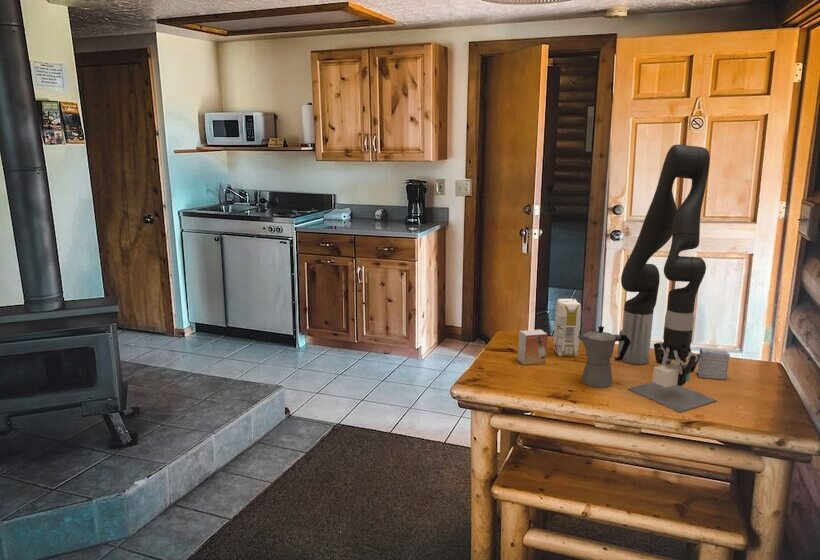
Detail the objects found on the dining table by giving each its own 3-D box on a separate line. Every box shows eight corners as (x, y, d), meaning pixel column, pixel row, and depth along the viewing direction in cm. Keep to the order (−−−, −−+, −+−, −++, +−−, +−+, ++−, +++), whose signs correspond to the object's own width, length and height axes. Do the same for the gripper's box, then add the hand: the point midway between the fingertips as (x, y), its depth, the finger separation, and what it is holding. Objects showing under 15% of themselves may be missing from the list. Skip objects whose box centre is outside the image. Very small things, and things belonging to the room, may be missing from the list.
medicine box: (723, 375, 192) (726, 349, 190) (726, 380, 188) (730, 354, 186) (696, 372, 194) (699, 347, 192) (699, 377, 190) (702, 351, 188)
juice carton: (557, 357, 207) (561, 304, 203) (551, 349, 215) (555, 297, 211) (579, 357, 207) (583, 304, 203) (572, 349, 215) (576, 297, 211)
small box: (524, 365, 199) (525, 335, 197) (517, 360, 204) (518, 330, 202) (546, 363, 201) (548, 333, 199) (539, 358, 206) (540, 328, 204)
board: (627, 389, 180) (627, 388, 180) (664, 380, 187) (664, 378, 187) (679, 412, 165) (680, 411, 164) (717, 401, 172) (717, 400, 172)
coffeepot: (576, 387, 182) (581, 330, 178) (572, 375, 191) (576, 321, 187) (629, 390, 180) (635, 332, 176) (623, 378, 189) (628, 323, 185)
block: (665, 387, 170) (688, 381, 175) (667, 372, 169) (690, 366, 174) (652, 382, 174) (675, 376, 178) (654, 367, 173) (677, 361, 177)
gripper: (710, 330, 167) (703, 388, 170) (666, 318, 179) (660, 372, 183) (692, 334, 163) (686, 393, 167) (648, 321, 175) (643, 376, 179)
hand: (672, 382), depth 175 cm, fingers closed on block, 4 cm apart
